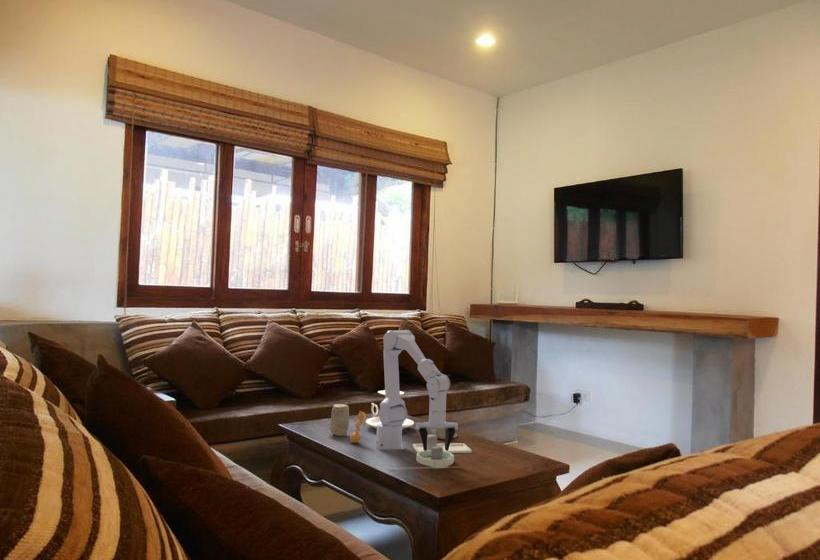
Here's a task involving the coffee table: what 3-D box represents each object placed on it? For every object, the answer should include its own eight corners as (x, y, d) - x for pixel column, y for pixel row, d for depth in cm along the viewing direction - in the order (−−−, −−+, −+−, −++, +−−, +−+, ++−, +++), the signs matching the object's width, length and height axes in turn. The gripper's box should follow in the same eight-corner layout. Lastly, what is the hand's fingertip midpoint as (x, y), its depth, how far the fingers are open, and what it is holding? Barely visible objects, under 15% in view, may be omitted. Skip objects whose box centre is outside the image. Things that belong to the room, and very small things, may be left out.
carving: (350, 436, 228) (352, 406, 229) (332, 437, 225) (333, 407, 225) (345, 432, 234) (347, 403, 234) (328, 433, 231) (329, 403, 231)
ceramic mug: (435, 441, 226) (436, 421, 226) (428, 435, 234) (429, 417, 234) (460, 440, 229) (461, 421, 230) (452, 435, 237) (453, 416, 237)
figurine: (345, 441, 221) (346, 409, 221) (358, 439, 224) (360, 408, 224) (355, 446, 214) (357, 414, 214) (369, 444, 217) (371, 412, 218)
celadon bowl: (420, 468, 190) (421, 460, 190) (413, 457, 202) (413, 450, 202) (457, 467, 192) (457, 459, 192) (447, 456, 204) (448, 449, 205)
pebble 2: (431, 464, 193) (432, 449, 193) (429, 460, 197) (430, 446, 197) (443, 464, 193) (443, 449, 193) (441, 460, 197) (441, 446, 197)
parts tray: (418, 455, 205) (418, 451, 205) (412, 447, 215) (412, 443, 215) (471, 454, 209) (471, 450, 209) (463, 446, 219) (463, 443, 219)
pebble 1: (427, 451, 209) (427, 437, 209) (424, 448, 213) (425, 434, 213) (437, 450, 210) (438, 437, 210) (435, 447, 214) (435, 434, 214)
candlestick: (389, 419, 260) (392, 358, 261) (423, 431, 241) (426, 365, 241) (351, 424, 248) (353, 360, 249) (383, 437, 228) (386, 367, 229)
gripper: (419, 412, 192) (417, 453, 192) (460, 413, 195) (459, 453, 195) (415, 408, 199) (413, 447, 199) (455, 408, 202) (453, 447, 202)
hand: (435, 449), depth 197 cm, fingers open, 7 cm apart
